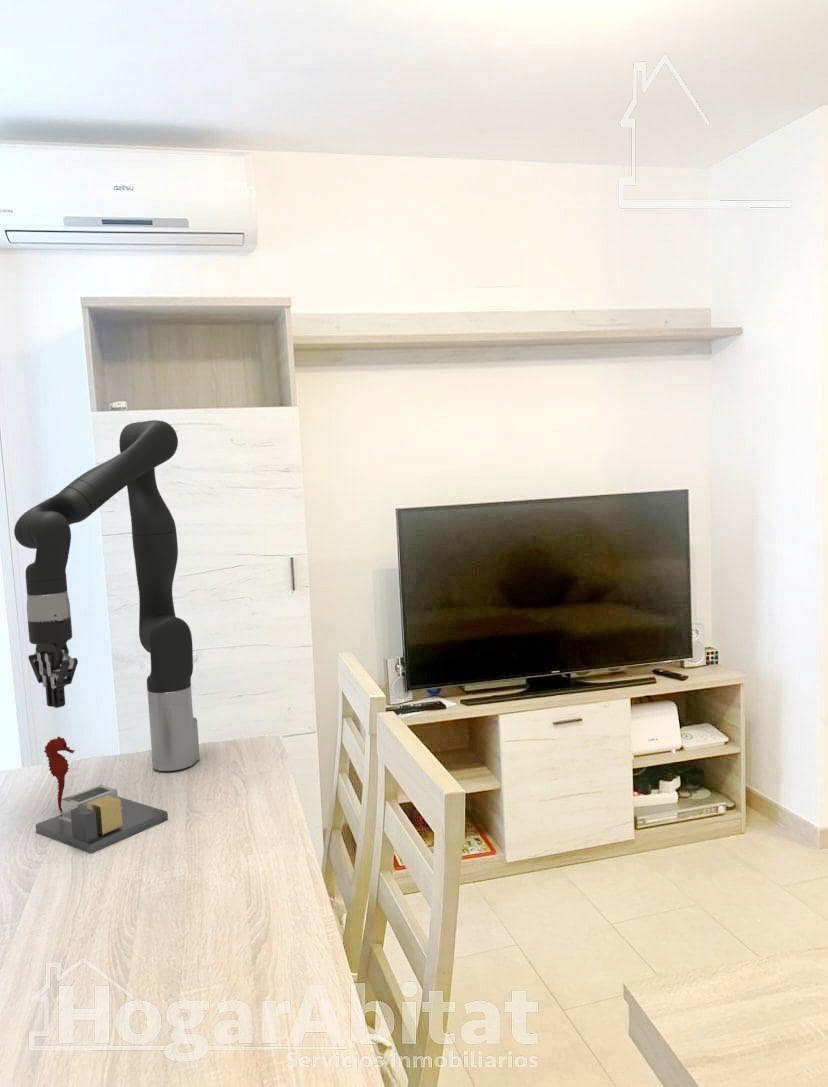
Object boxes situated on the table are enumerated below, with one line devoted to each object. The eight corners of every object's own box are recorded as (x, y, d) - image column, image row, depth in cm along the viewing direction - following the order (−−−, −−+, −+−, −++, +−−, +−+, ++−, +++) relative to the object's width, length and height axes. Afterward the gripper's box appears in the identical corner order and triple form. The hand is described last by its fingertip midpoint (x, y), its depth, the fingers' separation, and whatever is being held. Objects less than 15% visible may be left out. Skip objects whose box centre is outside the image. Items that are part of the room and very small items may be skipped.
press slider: (109, 821, 147) (107, 795, 147) (122, 826, 145) (120, 799, 145) (89, 830, 144) (87, 802, 144) (102, 834, 142) (100, 807, 142)
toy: (80, 811, 158) (74, 735, 157) (49, 817, 155) (43, 740, 154) (78, 807, 160) (72, 732, 159) (48, 813, 157) (42, 737, 156)
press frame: (113, 802, 162) (110, 770, 161) (167, 819, 152) (165, 785, 151) (36, 832, 149) (33, 797, 148) (90, 853, 139) (87, 816, 138)
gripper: (10, 617, 156) (18, 706, 157) (50, 622, 148) (58, 715, 149) (47, 611, 162) (54, 697, 163) (88, 615, 154) (94, 705, 155)
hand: (56, 705), depth 156 cm, fingers closed
